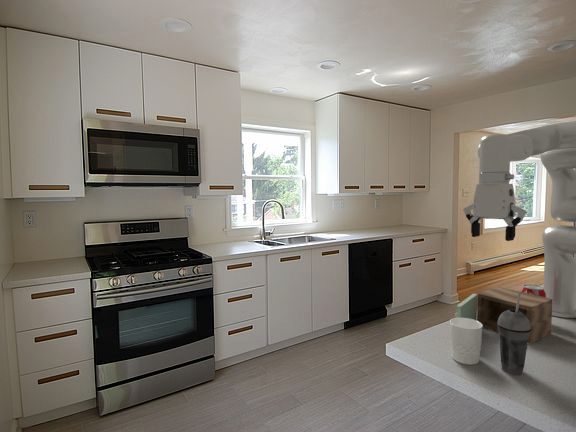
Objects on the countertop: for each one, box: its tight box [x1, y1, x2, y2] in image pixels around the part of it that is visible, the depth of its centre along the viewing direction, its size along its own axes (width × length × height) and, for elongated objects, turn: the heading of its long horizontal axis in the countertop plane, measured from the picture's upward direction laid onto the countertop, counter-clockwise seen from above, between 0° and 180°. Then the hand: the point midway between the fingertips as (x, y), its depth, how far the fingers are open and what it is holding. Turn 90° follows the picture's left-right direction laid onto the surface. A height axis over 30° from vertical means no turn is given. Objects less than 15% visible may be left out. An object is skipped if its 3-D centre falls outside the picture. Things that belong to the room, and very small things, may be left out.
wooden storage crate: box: [477, 286, 553, 345], centre depth 113 cm, size 13×16×11 cm
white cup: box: [449, 317, 484, 366], centre depth 95 cm, size 8×8×10 cm
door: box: [454, 293, 478, 321], centre depth 111 cm, size 2×16×10 cm, turn 136°
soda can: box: [520, 284, 546, 298], centre depth 119 cm, size 7×7×12 cm
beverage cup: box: [497, 293, 531, 377], centre depth 88 cm, size 7×7×20 cm
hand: (492, 238), depth 102 cm, fingers open, 9 cm apart
